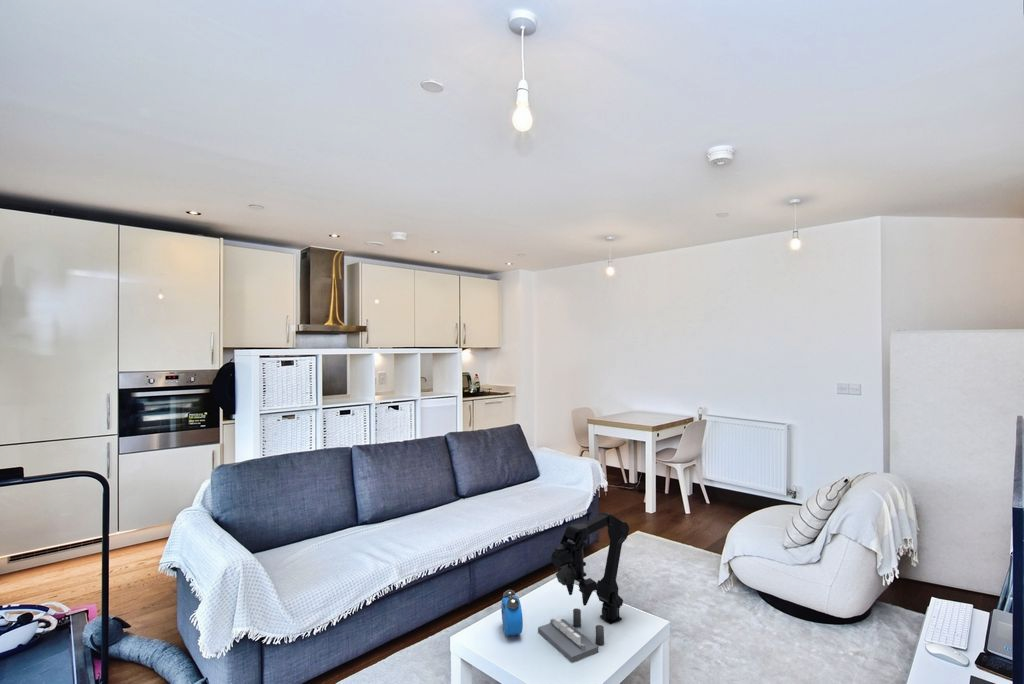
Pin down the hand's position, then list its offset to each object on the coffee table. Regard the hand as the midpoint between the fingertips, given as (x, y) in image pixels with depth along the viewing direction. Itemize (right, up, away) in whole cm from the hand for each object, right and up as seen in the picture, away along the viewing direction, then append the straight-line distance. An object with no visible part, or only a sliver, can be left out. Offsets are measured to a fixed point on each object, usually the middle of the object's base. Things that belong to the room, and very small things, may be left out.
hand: (577, 600), depth 188 cm
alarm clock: (-26, -14, +1) cm, 29 cm away
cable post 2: (+8, -13, -6) cm, 16 cm away
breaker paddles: (-5, -10, -5) cm, 12 cm away
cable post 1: (+1, -13, +6) cm, 15 cm away
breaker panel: (-5, -13, -5) cm, 15 cm away
